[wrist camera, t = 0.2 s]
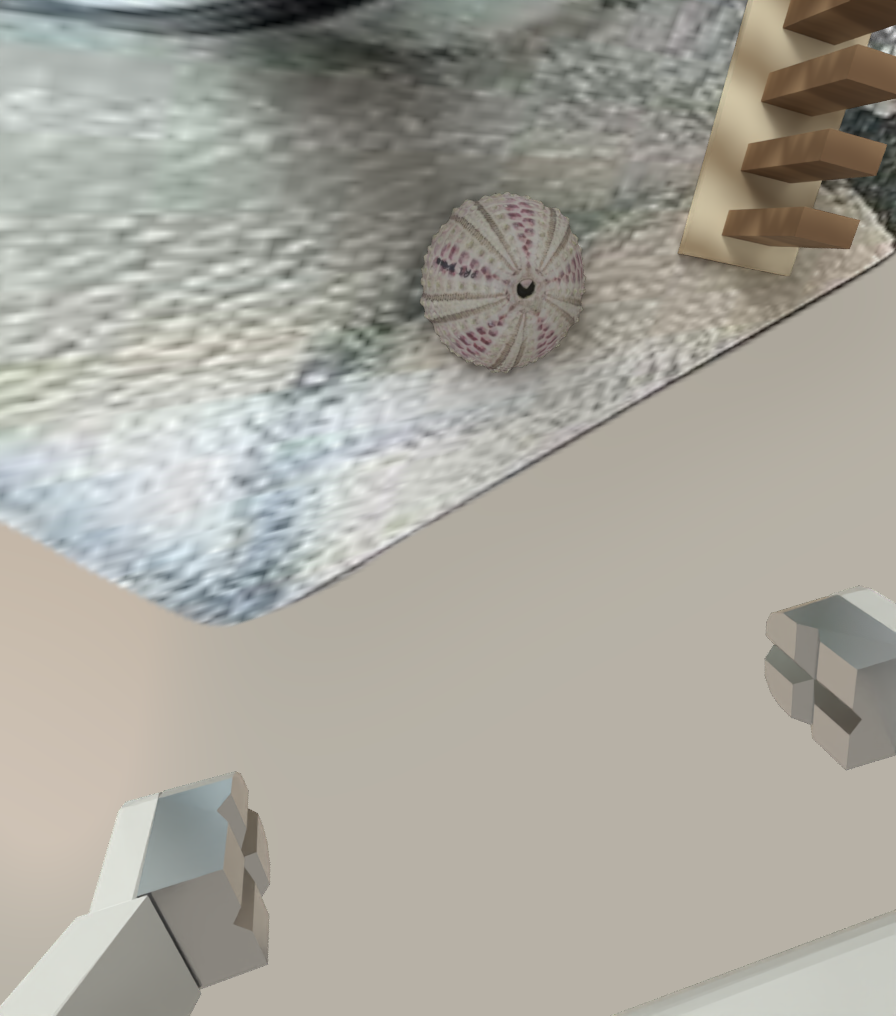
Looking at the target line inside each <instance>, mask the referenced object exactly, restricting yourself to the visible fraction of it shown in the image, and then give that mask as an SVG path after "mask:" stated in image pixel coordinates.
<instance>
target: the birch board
mask: <svg viewBox="0 0 896 1016" xmlns="http://www.w3.org/2000/svg"><path fill="white" fill-rule="evenodd" d="M790 1H791V0H748V2H747V5H746V9H745V13H744V16H743V20H742V23H741V27H740V31H739V34H738V38H737V41H736V45H735V49H734V52H733V56H732V60H731V63H730V67H729V70H728V74H727V78H726V81H725V85H724V88H723V92H722V96H721V99H720V103H719V107H718V110H717V114H716V117H715V121H714V125H713V128H712V132H711V135H710V139H709V143H708V146H707V150H706V153H705V157H704V161H703V164H702V168H701V172H700V175H699V179H698V182H697V186H696V190H695V193H694V197H693V200H692V204H691V208H690V211H689V215H688V219H687V222H686V226H685V229H684V233H683V237H682V240H681V244H680V247H679V251H678V254H683V255H688V256H693V257H698V258H702V259H707V260H712V261H717V262H721V263H726V264H731V265H736V266H740V267H745V268H750V269H755V270H759V271H764V272H769V273H774V274H778V275H783V276H790V274H791V271H792V268H793V265H794V262H795V259H796V256H797V253H798V250H799V247H774V246H766V245H762V244H758V243H753V242H749V241H744V240H740V239H735V238H731V237H726V236H722V232H723V229H724V225H725V222H726V218H727V215H728V212H729V210H741V209H762V208H784V207H808V208H812V209H813V206H814V203H815V200H816V197H817V194H818V191H819V188H820V185H821V182H822V181H812V182H801V183H791V184H790V183H787V182H783V181H779V180H775V179H771V178H767V177H763V176H759V175H755V174H751V173H747V172H744V171H741V167H742V164H743V160H744V157H745V154H746V150H747V147H748V144H749V143H755V142H760V141H765V140H771V139H776V138H781V137H787V136H792V135H797V134H803V133H808V132H813V131H819V130H824V129H829V128H831V129H835V130H838V131H839V128H840V125H841V122H842V119H843V116H844V113H845V110H846V109H845V110H840V111H836V112H831V113H826V114H822V115H817V116H813V117H811V116H808V115H804V114H801V113H798V112H794V111H791V110H787V109H784V108H780V107H777V106H774V105H770V104H767V103H763V102H761V99H762V96H763V92H764V89H765V86H766V82H767V79H768V75H769V73H770V72H773V71H777V70H780V69H783V68H786V67H789V66H792V65H795V64H798V63H801V62H804V61H807V60H810V59H813V58H816V57H819V56H823V55H826V54H829V53H832V52H835V51H838V50H841V49H844V48H847V47H850V46H853V45H856V44H860V45H863V46H866V47H867V45H868V42H869V39H870V36H871V33H870V34H867V35H864V36H861V37H858V38H855V39H852V40H849V41H846V42H843V43H840V44H837V45H832V44H829V43H826V42H823V41H820V40H817V39H814V38H811V37H808V36H805V35H802V34H799V33H796V32H793V31H790V30H787V29H784V28H783V24H784V21H785V18H786V14H787V11H788V7H789V4H790Z"/></svg>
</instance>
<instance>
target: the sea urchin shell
mask: <svg viewBox="0 0 896 1016" xmlns="http://www.w3.org/2000/svg"><path fill="white" fill-rule="evenodd" d="M581 252H582V248H581V247H580V246H579V245H578V238H577V236H576V235H574V234H572V232H571V230H570V226H569V218H567V217H565V216H563V215H562V214H561V213H560V209H556V207H554V208H550V207H545V206H544V205H543V203H542V202H541V201H537V200H532V199H531V197H530V196H527V195H525V196H518V195H517V194H510V193H509V192H505V193H504V194H500V193H498V194H496V193H495V194H493V195H491V196H486V195H484V196H483V197H482V198H481V199H480V200H478V201H474V200H465V201H464V202H463V204H462V205H461V207H459V208H453V211H452V214H451V216H450V219H449V220H448V222H447V223H446V224H443V225H441V227H440V230H439V232H438V233H437V234H436V235H433V238H432V244H431V245H430V246H429V247H428V253H427V254H426V255H424V257H423V258H424V261H425V264H424V266H423V267H422V268H421V271H422V275H423V277H422V279H421V284H422V286H423V295H422V297H421V299H420V303H421V304H422V305H423V306H424V309H425V314H424V315H425V316H424V317H425V318H427V319H428V320H430V321H431V322H432V324H433V325H434V330H435V333H436V334H437V335H439V336H440V339H441V342H442V343H443V344H445V345H447V347H448V348H449V349H450V352H454V353H455V354H456V356H458V357H462V358H463V359H465V360H466V363H467V362H473V363H474V364H475V365H476V366H478V365H481V366H486V367H487V368H488V369H490V371H491V372H492V373H494V372H496V373H497V372H500V371H502V372H505V373H508V371H509V370H511V369H512V368H514V367H523V366H527V364H528V363H535V362H536V361H537V360H538V358H543V357H544V356H545V354H547V353H549V352H550V351H551V350H552V349H553V348H555V347H557V346H560V340H561V339H562V338H564V337H566V335H567V333H568V329H569V328H570V326H572V325H573V324H575V323H577V322H579V313H580V312H581V311H582V310H583V309H582V306H581V299H582V295H583V294H584V293H585V292H586V291H585V288H584V282H585V278H586V277H585V275H584V274H583V272H584V265H583V264H582V260H583V258H582V255H581Z"/></svg>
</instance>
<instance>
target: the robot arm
mask: <svg viewBox="0 0 896 1016" xmlns="http://www.w3.org/2000/svg"><path fill="white" fill-rule="evenodd" d="M766 636H767V638H768V639H769V640H771V642H772V643H773V644H774V645H773V647H772V648H771V650H770V652H769V653H768V655H767V656H766V658H765V678H766V681H767V683H768V686H769V689H770V692H771V694H772V696H773V697H774V699H775V700H776V702H777V703H778V705H779V706H780V707H781V708H782V709H783V710H784V711H785V712H786V713H787V714H788V715H789V716H790V717H791V718H794V719H797V720H799V721H802V722H805V723H807V724H810V725H811V732H812V738H813V739H814V740H815V741H816V742H817V743H818V744H819V745H820V746H821V747H822V748H823V749H824V750H825V751H826V752H827V753H828V754H829V755H830V756H831V757H832V758H834V759H835V760H836V761H837V762H838V763H839V764H840V765H841V766H842V767H843V768H844V769H845V770H849V769H852V768H855V767H859V766H862V765H865V764H869V763H872V762H875V761H879V760H882V759H885V758H889V757H892V756H895V755H896V603H894V602H893V601H891V600H889V599H887V598H886V597H884V596H883V595H881V594H880V593H878V592H876V591H875V590H873V589H871V588H868V587H864V586H856V587H853V588H849V589H847V590H843V591H840V592H837V593H834V594H831V595H829V596H827V597H823V598H819V599H816V600H813V601H810V602H806V603H803V604H800V605H796V606H793V607H790V608H786V609H783V610H780V611H777V612H773V613H771V614H770V616H769V618H768V620H767V622H766ZM248 792H249V790H248V788H247V786H246V784H245V781H244V780H243V777H242V775H241V773H238V772H236V771H235V772H231V773H228V774H224V775H220V776H217V777H213V778H209V779H206V780H202V781H198V782H194V783H190V784H187V785H183V786H179V787H176V788H172V789H168V790H165V791H163V792H161V793H157V794H153V795H149V796H146V797H142V798H138V799H134V800H130V801H127V802H125V804H124V805H123V806H122V808H120V810H119V812H118V814H117V817H116V821H115V824H114V828H113V832H112V835H111V838H110V842H109V845H108V848H107V852H106V855H105V859H104V862H103V866H102V869H101V872H100V876H99V879H98V883H97V887H96V890H95V893H94V897H93V900H92V903H91V907H90V910H89V914H86V915H83V916H80V917H77V918H76V919H75V920H74V921H73V922H72V923H71V924H70V925H69V927H68V928H67V929H66V930H65V931H64V932H63V934H62V935H61V936H60V937H59V938H58V939H57V941H56V942H55V943H54V944H53V945H52V946H51V948H50V949H49V950H48V951H47V952H46V953H45V955H44V956H43V957H42V958H41V959H40V960H39V962H38V963H37V964H36V965H35V966H34V968H32V970H31V971H30V972H29V973H28V974H27V975H26V977H25V978H24V979H23V980H22V981H21V982H20V984H19V985H18V986H17V987H16V988H15V989H14V991H13V992H12V993H11V994H10V995H9V997H8V998H7V999H6V1000H5V1001H4V1002H3V1003H2V1004H1V1006H0V1016H190V1014H191V1012H192V1011H193V1009H194V1007H195V1005H196V1003H197V1001H198V999H199V997H200V995H201V992H200V989H203V988H205V987H208V986H211V985H214V984H216V983H219V982H222V981H225V980H227V979H230V978H232V977H235V976H238V975H241V974H244V973H246V972H249V971H252V970H254V969H257V968H260V967H263V966H265V965H267V964H268V940H269V913H268V911H267V909H266V906H265V904H264V902H263V899H262V896H263V894H264V893H265V891H266V890H267V888H268V886H269V885H270V860H269V852H268V843H267V839H266V836H265V831H264V828H263V825H262V822H261V820H260V817H259V815H258V813H256V812H254V811H252V810H250V809H248ZM612 1016H896V910H893V911H891V912H888V913H885V914H883V915H880V916H877V917H874V918H872V919H869V920H867V921H864V922H861V923H858V924H856V925H853V926H850V927H848V928H845V929H842V930H840V931H837V932H834V933H832V934H829V935H826V936H824V937H821V938H818V939H815V940H813V941H811V942H807V943H805V944H802V945H799V946H797V947H794V948H791V949H789V950H786V951H783V952H781V953H778V954H775V955H772V956H770V957H767V958H764V959H762V960H759V961H756V962H754V963H751V964H748V965H746V966H743V967H741V968H738V969H735V970H732V971H730V972H727V973H725V974H722V975H719V976H716V977H713V978H711V979H708V980H706V981H703V982H700V983H697V984H695V985H692V986H689V987H687V988H684V989H681V990H679V991H676V992H673V993H671V994H668V995H665V996H662V997H660V998H657V999H654V1000H652V1001H649V1002H647V1003H644V1004H641V1005H638V1006H636V1007H633V1008H630V1009H628V1010H625V1011H623V1012H620V1013H617V1014H614V1015H612Z"/></svg>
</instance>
